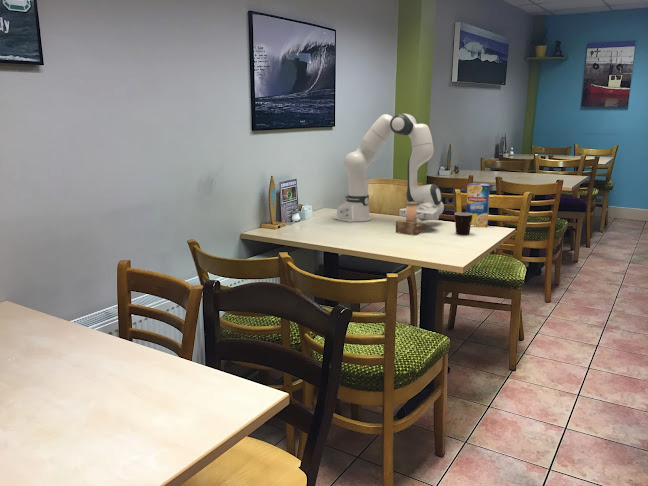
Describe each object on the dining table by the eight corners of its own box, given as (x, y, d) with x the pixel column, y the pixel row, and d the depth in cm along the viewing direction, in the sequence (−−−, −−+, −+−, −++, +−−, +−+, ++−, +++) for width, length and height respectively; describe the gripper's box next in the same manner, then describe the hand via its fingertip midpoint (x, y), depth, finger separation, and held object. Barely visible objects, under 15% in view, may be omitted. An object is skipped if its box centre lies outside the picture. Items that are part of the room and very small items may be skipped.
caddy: (395, 232, 275) (395, 220, 273) (406, 229, 282) (406, 217, 281) (415, 235, 268) (415, 223, 266) (425, 231, 275) (425, 220, 274)
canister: (403, 231, 275) (403, 202, 272) (409, 229, 279) (409, 201, 276) (412, 233, 272) (413, 203, 268) (418, 231, 276) (419, 202, 272)
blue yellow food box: (487, 227, 283) (489, 185, 278) (465, 226, 287) (467, 184, 282) (487, 224, 290) (490, 183, 285) (466, 223, 293) (468, 183, 288)
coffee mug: (459, 231, 275) (460, 211, 272) (474, 233, 269) (475, 213, 266) (447, 235, 267) (447, 215, 265) (462, 237, 261) (463, 217, 259)
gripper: (407, 204, 289) (393, 208, 279) (441, 208, 276) (428, 212, 266) (406, 215, 290) (392, 219, 280) (441, 220, 278) (427, 224, 267)
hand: (410, 216), depth 273 cm, fingers closed on canister, 5 cm apart
